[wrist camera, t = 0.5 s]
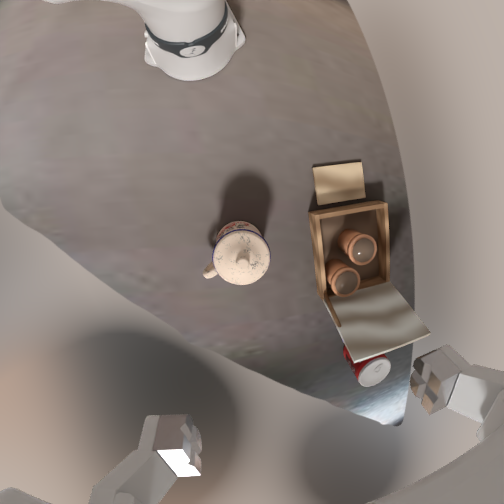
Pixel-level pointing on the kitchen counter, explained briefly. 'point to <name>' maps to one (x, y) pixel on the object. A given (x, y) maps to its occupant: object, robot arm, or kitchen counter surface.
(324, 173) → the cork mat
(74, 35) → the kitchen counter surface
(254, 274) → the teacup with lid
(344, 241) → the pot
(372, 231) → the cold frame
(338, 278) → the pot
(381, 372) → the canned food
